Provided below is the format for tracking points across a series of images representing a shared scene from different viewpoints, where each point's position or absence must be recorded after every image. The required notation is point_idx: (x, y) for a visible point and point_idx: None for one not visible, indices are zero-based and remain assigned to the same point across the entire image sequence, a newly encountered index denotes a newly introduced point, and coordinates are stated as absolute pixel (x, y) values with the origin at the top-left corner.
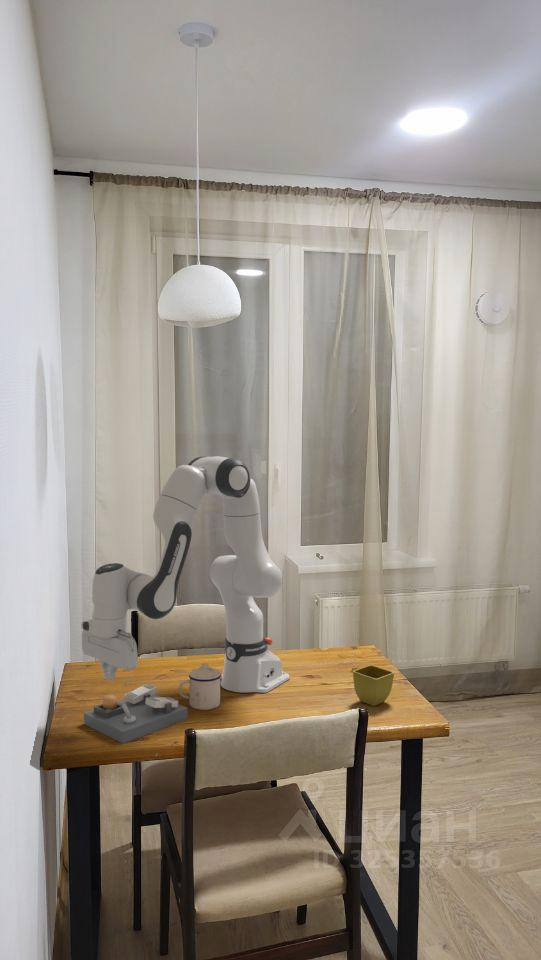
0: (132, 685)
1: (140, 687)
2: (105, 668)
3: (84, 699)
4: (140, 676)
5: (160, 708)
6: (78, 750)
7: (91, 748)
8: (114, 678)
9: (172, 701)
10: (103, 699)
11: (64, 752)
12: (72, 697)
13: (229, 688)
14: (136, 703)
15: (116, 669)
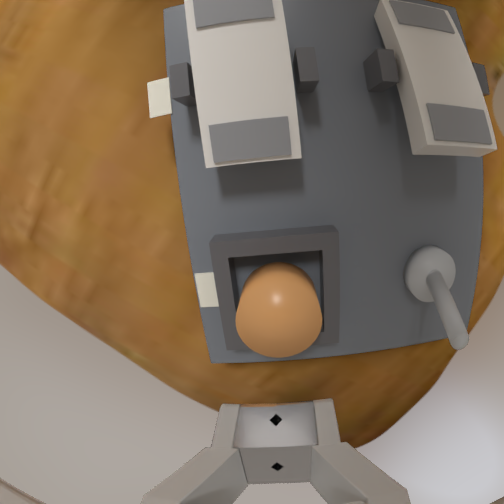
0: (25, 37)
1: (195, 46)
2: (230, 496)
3: (29, 225)
4: (3, 6)
5: None
6: (377, 414)
7: (396, 389)
8: (332, 403)
9: (462, 41)
10: (274, 355)
11: (357, 436)
12: (8, 248)
13: None
14: None
15: (375, 472)
